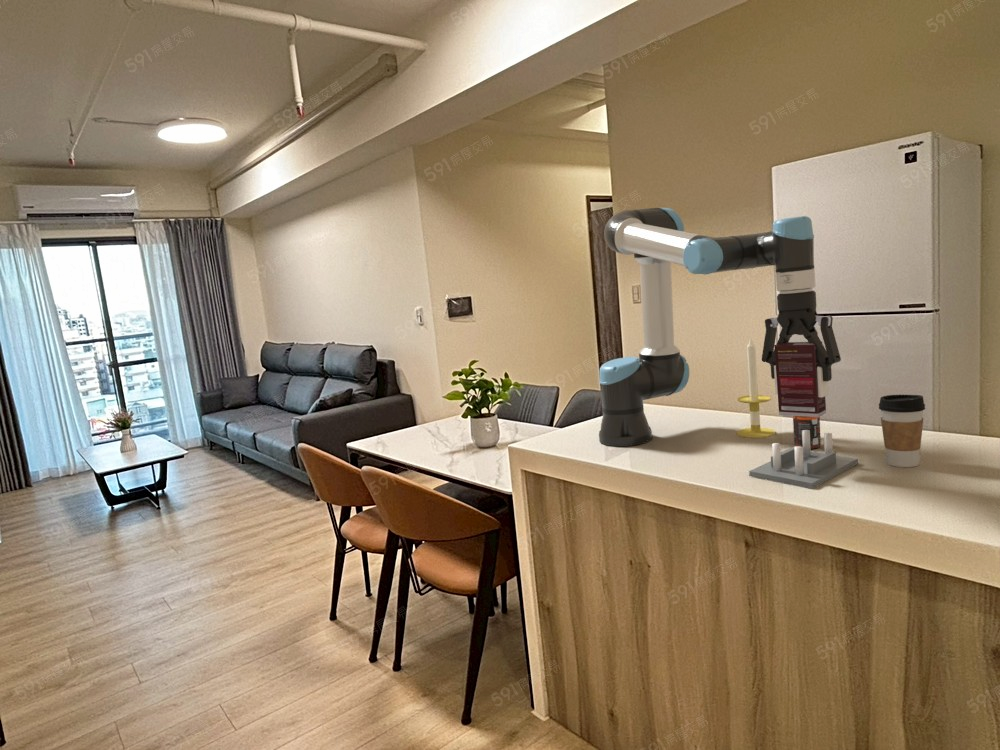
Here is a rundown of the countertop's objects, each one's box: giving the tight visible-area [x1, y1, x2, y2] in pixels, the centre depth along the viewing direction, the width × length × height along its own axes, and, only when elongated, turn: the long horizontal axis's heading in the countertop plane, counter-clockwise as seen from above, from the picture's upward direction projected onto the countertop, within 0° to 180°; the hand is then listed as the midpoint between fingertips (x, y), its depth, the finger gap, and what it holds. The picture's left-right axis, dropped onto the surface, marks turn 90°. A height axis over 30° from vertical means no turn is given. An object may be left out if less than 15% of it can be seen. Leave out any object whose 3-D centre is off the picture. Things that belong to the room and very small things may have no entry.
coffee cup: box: [878, 394, 926, 468], centre depth 132 cm, size 8×8×15 cm
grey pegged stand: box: [748, 430, 859, 490], centre depth 136 cm, size 14×20×7 cm
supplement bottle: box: [792, 416, 822, 450], centre depth 152 cm, size 6×6×11 cm
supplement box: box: [774, 341, 827, 417], centre depth 133 cm, size 9×5×16 cm, turn 42°
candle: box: [736, 336, 776, 439], centre depth 167 cm, size 10×10×27 cm
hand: (801, 394), depth 134 cm, fingers closed on supplement box, 9 cm apart
